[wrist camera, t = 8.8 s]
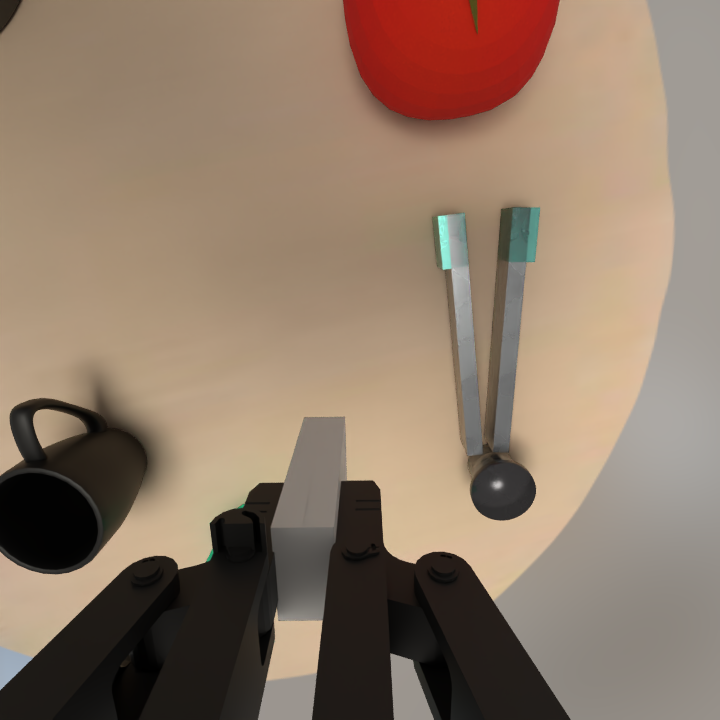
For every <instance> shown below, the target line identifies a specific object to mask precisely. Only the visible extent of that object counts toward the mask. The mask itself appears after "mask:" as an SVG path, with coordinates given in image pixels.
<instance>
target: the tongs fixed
mask: <svg viewBox="0 0 720 720" xmlns="http://www.w3.org/2000/svg"><path fill="white" fill-rule="evenodd" d="M539 214H540V208H521V207H513V208H506V209H501V221H500V234H499V247H498V260H497V273H496V286H495V299H494V312H493V325H492V338H491V351H490V365H489V378H488V391H487V404H486V417H485V430H484V437H485V439H486V441H487V443H488V444H486V445H482V446H483V454H481V455H472V456H470V457H469V459H468V470H469V473H470V475H471V477H472V481H471V484H470V495H471V498H472V501H473V503H474V505H475V507H476V509H477V510H478V511H479V512H480V513H481V514H482V515H484V516H486V517H488V518H490V519H494V520H510V519H513V518H516V517H518V516H520V515H522V514H523V513H524V512H526V511H527V510H528V509H529V507H530V506H531V505H532V503H533V501H534V498H535V494H536V485H535V482H534V479H533V478H532V476H531V474H530V473H529V471H528V470H527V469H526V468H525V467H524V466H522V465H521V464H519V463H517V462H515V461H512V459H511V457H510V456H509V454H508V453H509V442H510V432H511V421H512V410H513V399H514V388H515V377H516V366H517V356H518V345H519V334H520V323H521V312H522V301H523V290H524V279H525V269H526V262H535V255H536V245H537V235H538V224H539Z"/></svg>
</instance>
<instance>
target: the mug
mask: <svg viewBox="0 0 720 720" xmlns="http://www.w3.org/2000/svg"><path fill="white" fill-rule="evenodd" d="M41 409H50V410H56V411H60V412H64V413H67V414H70V415H73V416H75V417H77V418H79V419H80V420H81V421H82V422H83V423H84V424H85V426H86V428H87V433H85V434H81V435H77V436H74V437H71V438H67V439H65V440H62V441H60V442H57V443H55V444H52V445H50V446H48V447H46V448H43V449H42V447H41V445H40V443H39V441H38V439H37V436H36V433H35V430H34V426H33V416H34V414H35V412H36V411H38V410H41ZM10 426H11V430H12V433H13V436H14V439H15V442H16V444H17V446H18V449H19V451H20V453H21V455H22V457H23V458H24V460H23V461H21V462H20V463H18V464H17V465H15V466H14V467H12V468H11V469H9V470H8V471H6V472H5V473H3V474H2V475H1V476H0V552H1V553H2V554H3V555H4V556H5V557H7V558H8V559H10V560H11V561H13V562H14V563H16V564H17V565H19V566H21V567H24V568H26V569H28V570H31V571H35V572H39V573H43V574H62V573H69V572H72V571H74V570H77V569H80V568H82V567H83V566H85V565H86V564H88V563H89V562H91V561H92V560H93V559H94V557H95V556H96V555H97V554H98V553H99V552H100V550H101V549H102V548H103V547H104V546H105V544H106V543H107V542H108V541H109V540H110V538H111V537H112V536H113V535H114V534H115V532H116V531H117V530H118V529H119V527H120V526H121V525H122V523H123V522H124V520H125V518H126V517H127V515H128V513H129V511H130V509H131V507H132V505H133V503H134V501H135V498H136V496H137V494H138V491H139V488H140V485H141V482H142V479H143V475H144V473H145V471H146V467H147V457H146V453H145V450H144V448H143V447H142V445H141V443H140V442H139V441H138V440H137V439H136V438H135V437H134V436H132V435H131V434H129V433H127V432H125V431H123V430H119V429H115V428H108V426H107V423H106V421H105V420H104V418H103V417H102V416H101V415H99V414H97V413H96V412H94V411H91V410H88V409H85V408H82V407H79V406H76V405H72V404H69V403H66V402H62V401H59V400H55V399H47V398H39V399H32V400H28V401H26V402H23V403H21V404H19V405H17V406H15V407H14V408H13V409H12V411H11V413H10Z"/></svg>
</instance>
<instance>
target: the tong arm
mask: <svg viewBox="0 0 720 720" xmlns="http://www.w3.org/2000/svg"><path fill="white" fill-rule="evenodd" d="M432 218H433V229H434V239H435V250H436V261H437V267H439V268H441V269H442V270H445V271H446V282H447V294H448V305H449V316H450V327H451V338H452V350H453V361H454V372H455V383H456V395H457V406H458V417H459V428H460V439H461V442H462V444H463V447H464V449H465V451H466V454H467V456H472V455H481V454H483V446H482V433H481V420H480V406H479V393H478V380H477V367H476V354H475V341H474V328H473V315H472V302H471V289H470V276H469V263H468V250H467V237H466V224H465V213H458V214H451V215H444V216H437V217H432Z"/></svg>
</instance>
